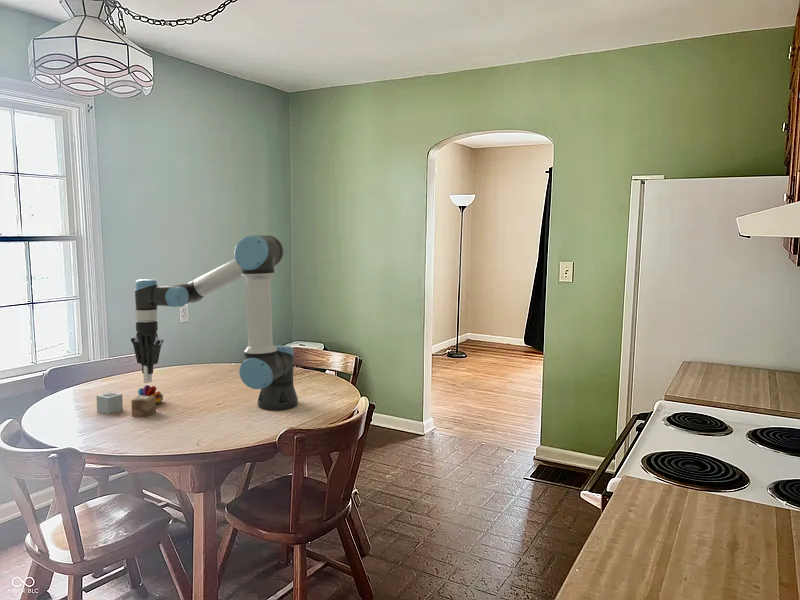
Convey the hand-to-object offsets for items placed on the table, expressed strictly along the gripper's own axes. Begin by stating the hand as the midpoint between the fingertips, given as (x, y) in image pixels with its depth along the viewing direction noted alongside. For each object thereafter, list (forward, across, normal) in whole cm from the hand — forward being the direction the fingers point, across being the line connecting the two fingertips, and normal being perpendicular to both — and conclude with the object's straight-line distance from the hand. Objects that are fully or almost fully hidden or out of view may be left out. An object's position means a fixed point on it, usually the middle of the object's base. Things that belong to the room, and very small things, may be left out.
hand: (147, 382), depth 224 cm
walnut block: (+9, -7, +11) cm, 16 cm away
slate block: (+9, +7, +12) cm, 16 cm away
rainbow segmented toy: (+9, 0, 0) cm, 9 cm away
